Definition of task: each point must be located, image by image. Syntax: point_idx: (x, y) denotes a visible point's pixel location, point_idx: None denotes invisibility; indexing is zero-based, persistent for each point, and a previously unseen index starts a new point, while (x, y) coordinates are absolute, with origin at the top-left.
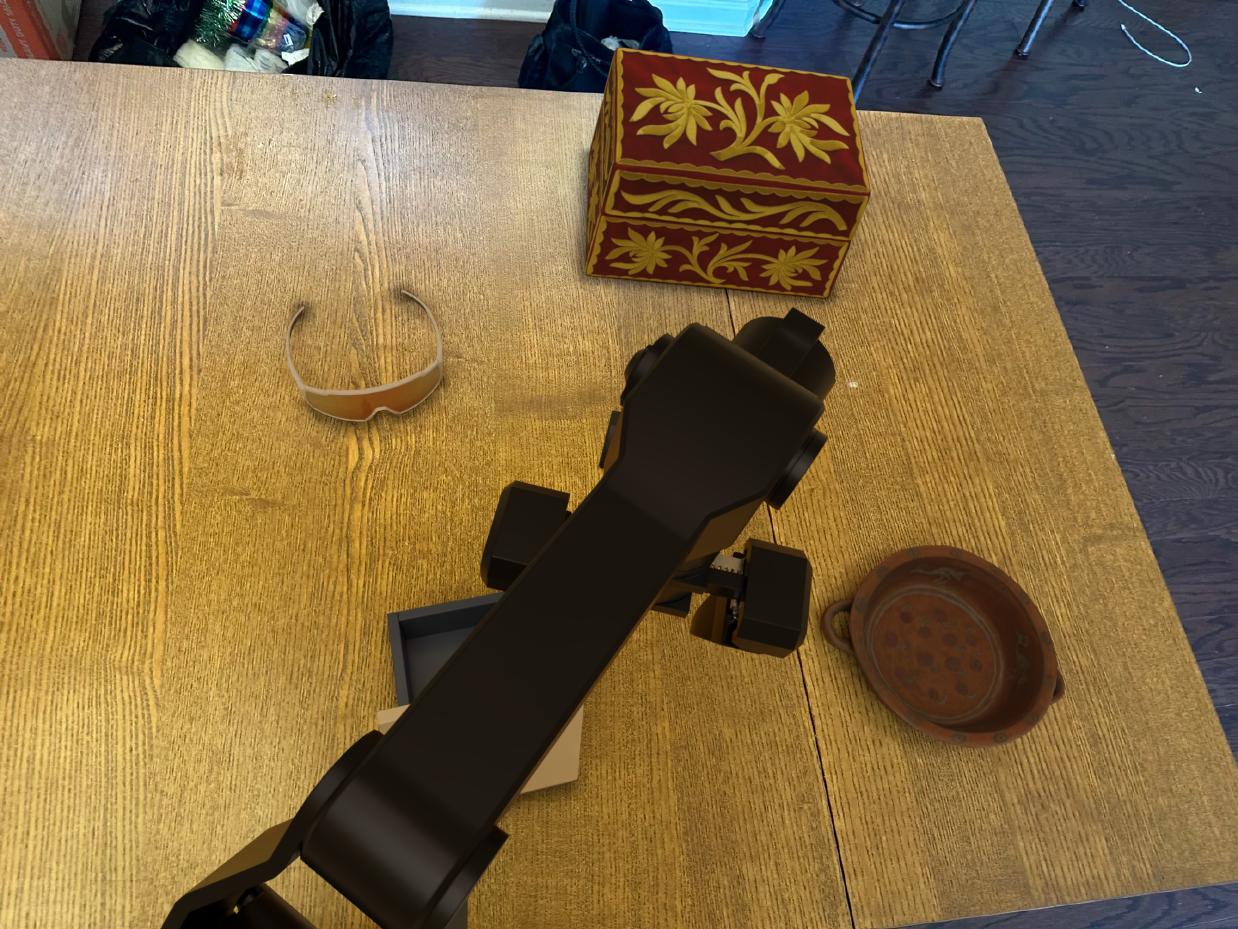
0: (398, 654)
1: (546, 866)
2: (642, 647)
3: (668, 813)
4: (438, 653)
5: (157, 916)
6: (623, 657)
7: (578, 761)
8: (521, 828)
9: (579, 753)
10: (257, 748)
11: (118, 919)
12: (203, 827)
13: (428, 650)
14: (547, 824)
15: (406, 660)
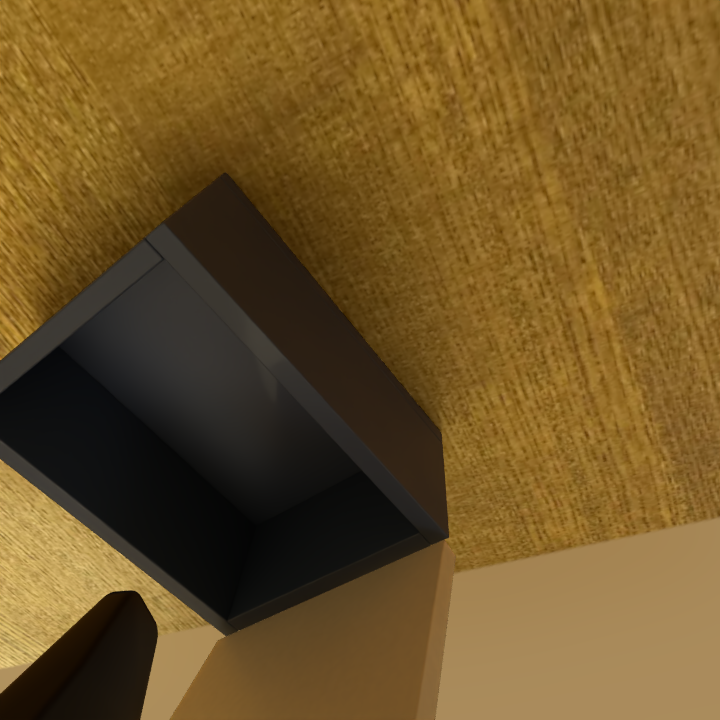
0: (24, 468)
1: (451, 525)
2: (502, 147)
3: (629, 418)
4: (120, 341)
5: None
6: (465, 190)
7: (446, 621)
8: None
9: (442, 655)
10: (17, 518)
11: None
12: (42, 591)
13: (102, 342)
14: None
15: (69, 409)
